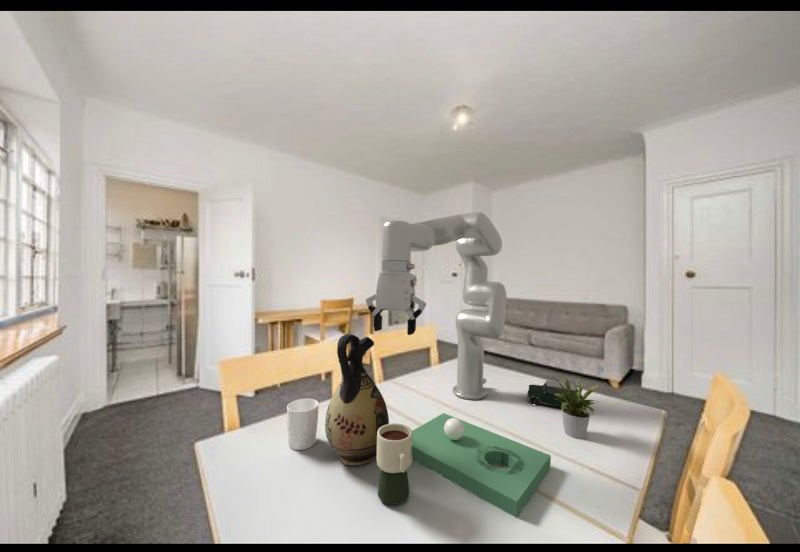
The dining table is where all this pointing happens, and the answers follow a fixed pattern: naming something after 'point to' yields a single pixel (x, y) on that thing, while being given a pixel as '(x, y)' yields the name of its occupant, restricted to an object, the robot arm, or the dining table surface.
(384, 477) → the character mug
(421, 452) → the board
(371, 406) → the ceramic jug
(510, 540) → the dining table surface
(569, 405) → the house plant
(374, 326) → the robot arm
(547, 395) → the miniature car
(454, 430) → the golf ball
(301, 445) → the white cup
